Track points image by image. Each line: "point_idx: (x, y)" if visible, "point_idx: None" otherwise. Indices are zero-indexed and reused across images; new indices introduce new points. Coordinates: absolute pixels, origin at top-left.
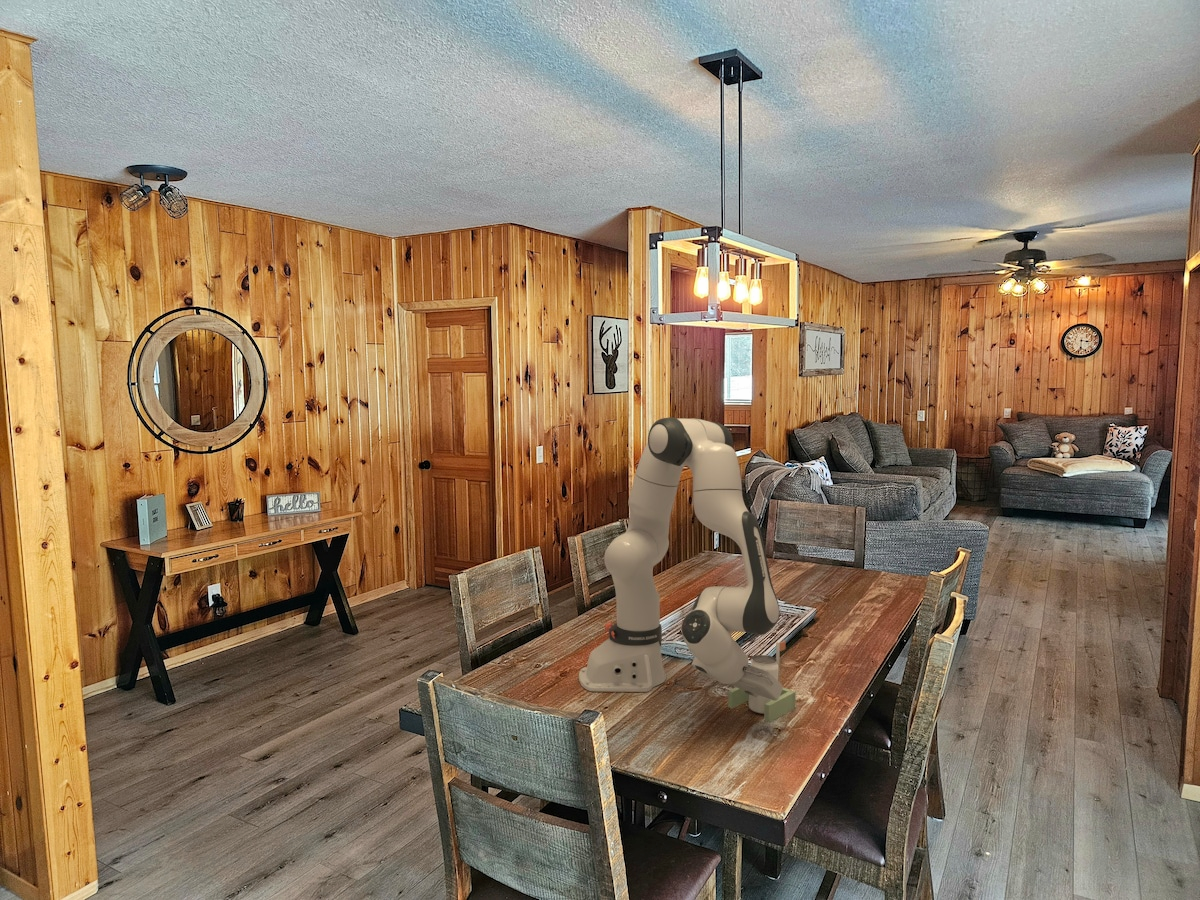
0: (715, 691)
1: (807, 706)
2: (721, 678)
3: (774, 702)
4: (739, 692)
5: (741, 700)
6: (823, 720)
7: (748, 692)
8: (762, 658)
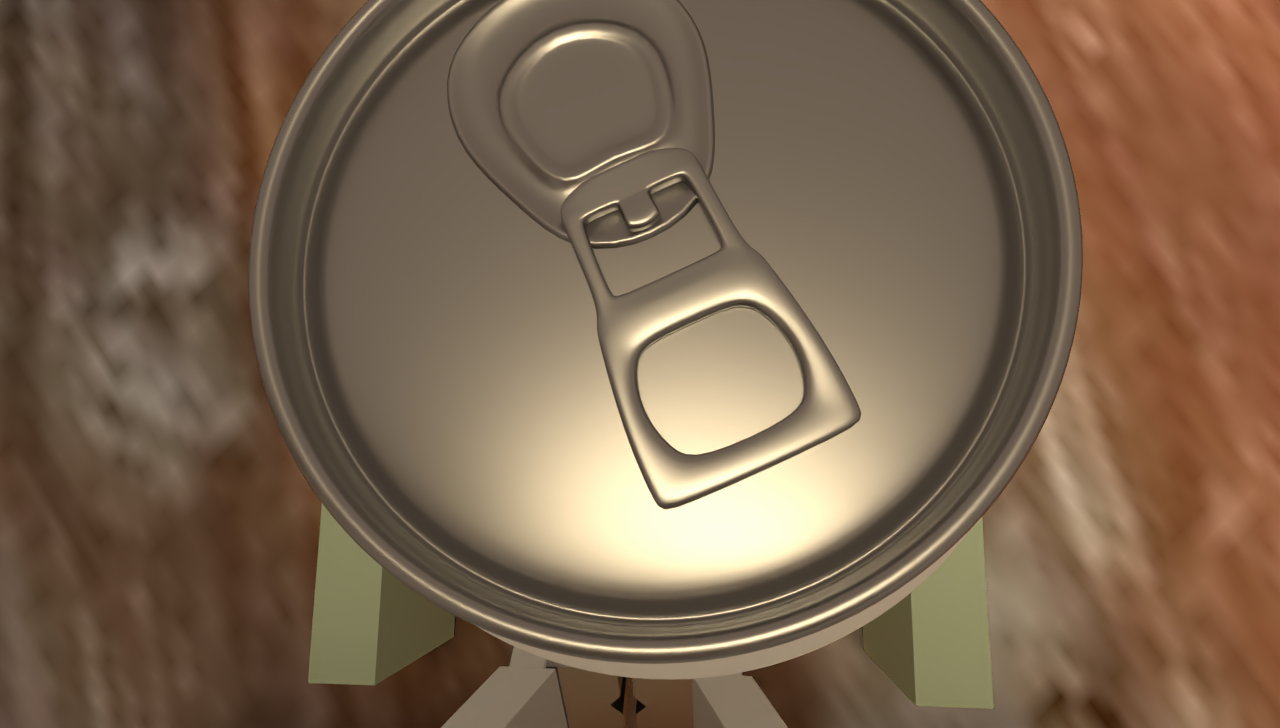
0: (116, 411)
1: None
2: None
3: (980, 563)
4: None
5: None
6: (1264, 205)
7: (626, 709)
8: (506, 150)
